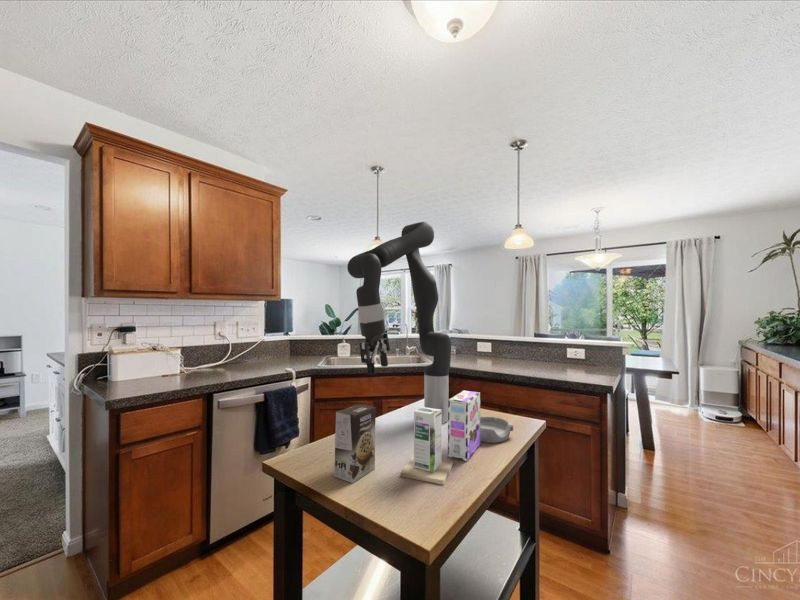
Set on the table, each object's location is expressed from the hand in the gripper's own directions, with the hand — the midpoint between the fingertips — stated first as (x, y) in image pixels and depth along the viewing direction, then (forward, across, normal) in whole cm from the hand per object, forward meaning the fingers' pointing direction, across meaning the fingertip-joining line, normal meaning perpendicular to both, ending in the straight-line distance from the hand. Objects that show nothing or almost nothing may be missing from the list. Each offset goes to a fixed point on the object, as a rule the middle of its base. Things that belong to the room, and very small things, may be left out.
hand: (378, 370), depth 104 cm
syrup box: (+22, +12, +18) cm, 31 cm away
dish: (+29, -18, +27) cm, 44 cm away
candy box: (+26, -3, +24) cm, 35 cm away
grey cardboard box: (+20, +22, +2) cm, 30 cm away
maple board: (+22, +13, +18) cm, 32 cm away
